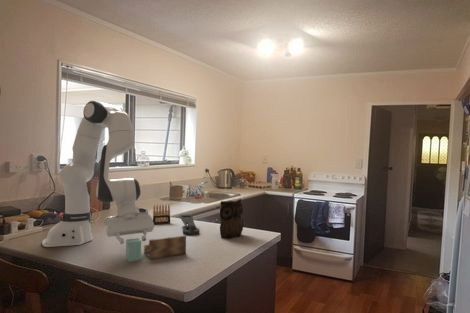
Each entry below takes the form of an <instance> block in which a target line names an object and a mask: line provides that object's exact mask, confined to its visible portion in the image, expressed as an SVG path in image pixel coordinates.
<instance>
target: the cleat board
mask: <svg viewBox="0 0 470 313" xmlns="http://www.w3.org/2000/svg"><path fill="white" fill-rule="evenodd" d="M143 247H144V248H143V254H144V255H145V256H146V257H147V258H148V259H149V260H156V259H162V258H164V259H165V258H169V257H176V256H181V255H182V256H183V255H186V254H187V235H178V236H171V237H162V238H152V239H149V241H148V244H144V246H143Z"/></svg>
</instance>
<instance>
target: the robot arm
mask: <svg viewBox="0 0 470 313" xmlns="http://www.w3.org/2000/svg"><path fill="white" fill-rule="evenodd" d="M106 128H107V129H108V141H107V143H106V144H104V145H103V147H102V149H101V153H100V160H99V161H100V162H99V171H98V181H97V184H96V188H95V196H96V200H98V201H100V202H101V203H103V204H109V203H113V202H114V203H115V207H116V215H113V216H107V217H105V218H104V219H103V222H104V225H105V226H106V228H105V232H106V233H105V235H106V236H107V237H108V238H110V237H111V238H113V237H115V238H116V240H117V241H119V242H118V243H119V245H123V244H124V243H125V241H124V237H123V238H122V237H121V236H127V235H137V234H142V235H141V242H145V241H147V234H148V233H151V232H153V231H154V229H155V224H154V223H153V217H152V216H151V214H150V213H149V209H148V208H144V207H139V206H137V205H136V201H138V199H139V198H140V196H141V192H142V191H141V187H140V183H139V181H138V180H137V179H136V178H134V177H128V178H127V177H126V178H118V179H117V178H116V179H114V178H113V179H110V178H109V172H110V165H111V164H110V163H111V161H112V160H113V159H115V158H117V157H119V156H122V155H124V154H126V153H128V152H129V151H130V150H131V149H132V148H133V146H134V143H135V134H134V127H133V124H132V119H131V117H130V116H129V113H127V112H126V111H125V110H124V109H122V108H120V107H117V106H115V105H113V104H111V103H105V102H101V101H99V100H98V101H97V100H90V101H88V102H87V103H86V104H85V106H84V108H83V117H82V119H81V121H80V122H79V125H78V128H77V132H76V134H75V138H74V141H73V145H72V161H71V162H70V163H67V164H65V165H64V166H63V167H61V169H60V171H59V180H60V181H61V183H62V187H63V192H64V198H65V199H64V200H65V201H64V202H65V203H64V204H65V205H64V207H65V210H64V211H65V212H60V213H59V217H60V221H59V222H58V223H56V224H55V225H54V226H52V227H51V228H50V229H49V230H48V233H47V237H46V238H45V239H43V240H42V244H41V245H42V247H45V248H52V247H53V248H55V247H66V246H67V247H68V246H70V247H71V246H81V245H83V244H85V243H88V242H91V241H93V239H94V237H93V234H92V229H91V221H92V220H91V219H92V215H91V214H92V213H91V211H90V207H91V206H90V205H91V204H90V203H91V201H90V199H91V198H90V193H89V191H88V186H87V182H89V181H90V180H92V179H93V177H94V174H95V164H96V156H97V152H98V147H99V144H100V141H101V140H100V139H101V136H102V132H103V131H104V129H106Z"/></svg>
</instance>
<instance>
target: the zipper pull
mask: <svg viewBox="0 0 470 313" xmlns="http://www.w3.org/2000/svg"><path fill="white" fill-rule="evenodd" d="M179 218H180V220H181V221H182V223H183V226H182V236H186V237H187V236H189V237H190V236H192V237H193V236H198V235H200V229H199V228H198V227H197V226H196V224H195V220H194V217H193V214H179Z"/></svg>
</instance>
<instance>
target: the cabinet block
mask: <svg viewBox="0 0 470 313" xmlns="http://www.w3.org/2000/svg"><path fill="white" fill-rule="evenodd" d="M125 243H126V244H125V255H126V256H125V259H126V260H127V261H128V262H136V261H141V260H142V239H140V238H138V237H137V238H129V239H127V238H126V240H125Z"/></svg>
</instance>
